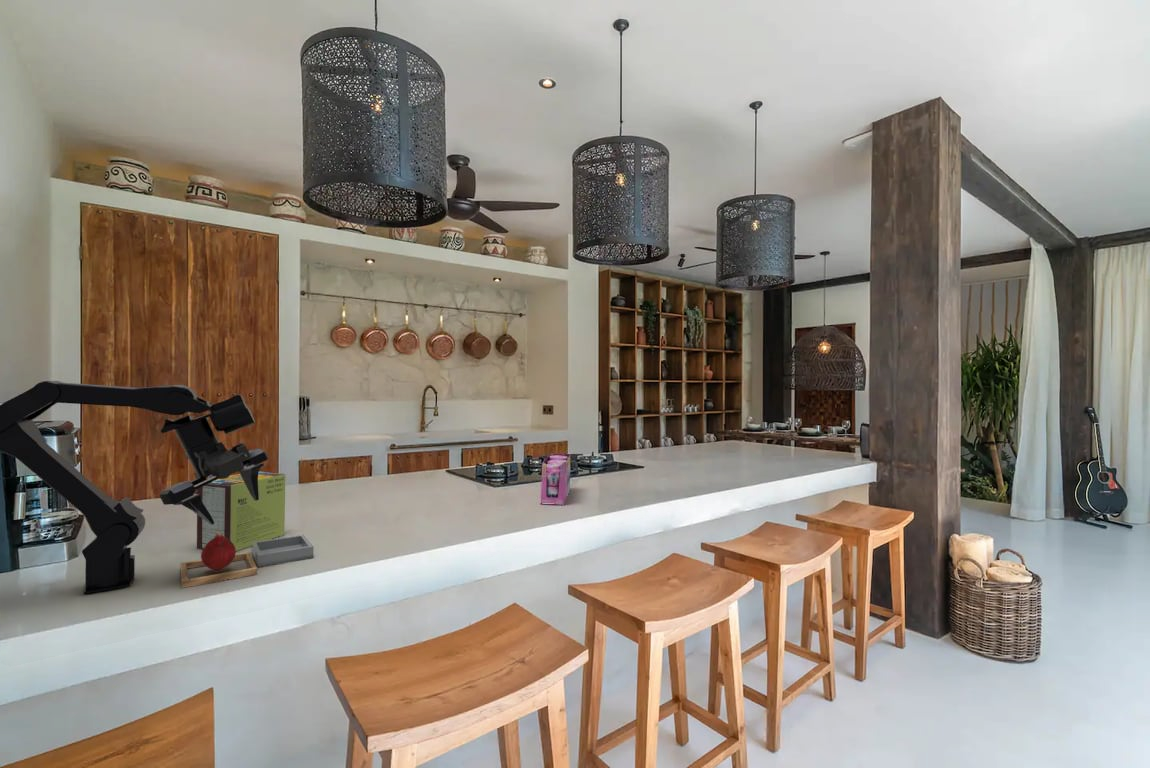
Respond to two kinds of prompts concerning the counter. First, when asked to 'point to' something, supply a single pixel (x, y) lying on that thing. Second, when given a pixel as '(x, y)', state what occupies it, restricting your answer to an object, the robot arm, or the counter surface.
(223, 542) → the onion
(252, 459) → the robot arm
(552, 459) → the gum box
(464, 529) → the counter surface
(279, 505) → the protein box
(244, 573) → the brown wooden frame
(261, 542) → the dish
